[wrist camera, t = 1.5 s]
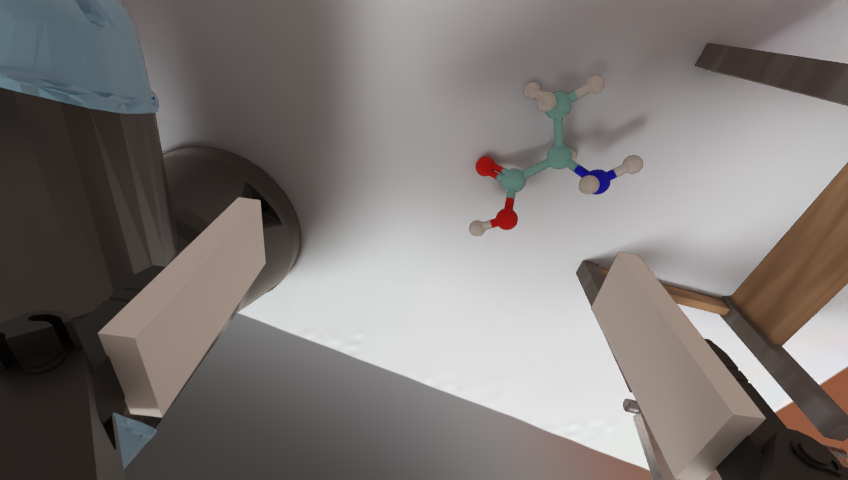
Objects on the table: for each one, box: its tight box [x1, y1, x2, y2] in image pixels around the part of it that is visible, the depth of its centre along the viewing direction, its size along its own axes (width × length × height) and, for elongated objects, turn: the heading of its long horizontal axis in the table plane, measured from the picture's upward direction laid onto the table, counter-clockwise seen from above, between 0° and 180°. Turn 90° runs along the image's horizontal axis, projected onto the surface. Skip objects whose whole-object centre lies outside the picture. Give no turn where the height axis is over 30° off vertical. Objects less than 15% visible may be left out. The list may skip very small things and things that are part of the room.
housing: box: [576, 43, 848, 441], centre depth 27 cm, size 16×20×14 cm
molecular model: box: [469, 75, 643, 236], centre depth 28 cm, size 12×10×10 cm
